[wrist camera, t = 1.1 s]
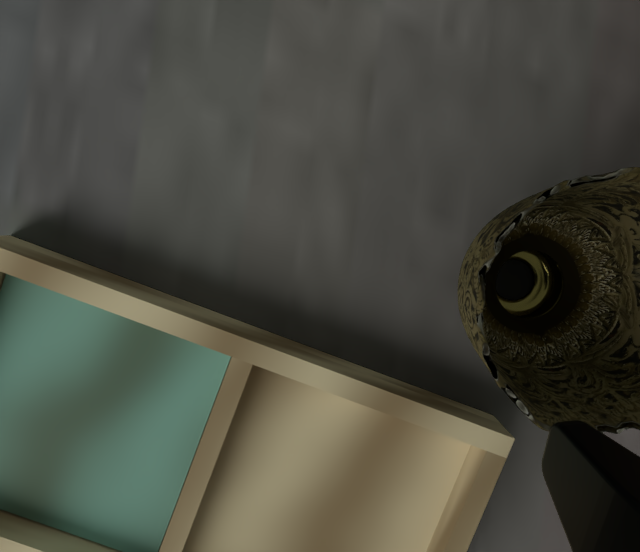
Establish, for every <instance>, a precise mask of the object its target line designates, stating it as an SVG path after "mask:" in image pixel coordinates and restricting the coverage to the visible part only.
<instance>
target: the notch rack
mask: <svg viewBox="0 0 640 552" xmlns="http://www.w3.org/2000/svg"><path fill="white" fill-rule="evenodd" d="M514 440H515V438H514V437H513V436H512V435H511V434H510V433H509V432H508V431H507V430H506V429H505V427H504V426H503V425H502V424H501V423H500V422H499V421H498V420H497V419H496V418H495V417H494V416H493V415H491V414H488V413H486V412H483V411H480V410H478V409H475V408H472V407H469V406H467V405H464V404H461V403H459V402H456V401H453V400H451V399H448V398H445V397H443V396H440V395H437V394H435V393H432V392H429V391H427V390H424V389H421V388H418V387H416V386H413V385H410V384H408V383H405V382H402V381H400V380H397V379H394V378H392V377H389V376H386V375H384V374H381V373H378V372H376V371H373V370H370V369H367V368H365V367H362V366H359V365H357V364H354V363H351V362H349V361H346V360H343V359H341V358H338V357H335V356H333V355H330V354H327V353H325V352H322V351H319V350H316V349H314V348H311V347H308V346H306V345H303V344H300V343H298V342H295V341H292V340H290V339H287V338H284V337H282V336H279V335H276V334H274V333H271V332H268V331H265V330H263V329H260V328H257V327H255V326H252V325H249V324H247V323H244V322H241V321H239V320H236V319H233V318H231V317H228V316H225V315H223V314H220V313H217V312H214V311H212V310H209V309H206V308H204V307H201V306H198V305H196V304H193V303H190V302H188V301H185V300H182V299H180V298H177V297H174V296H172V295H169V294H166V293H163V292H161V291H158V290H155V289H153V288H150V287H147V286H145V285H142V284H139V283H137V282H134V281H131V280H129V279H126V278H123V277H121V276H118V275H115V274H112V273H110V272H107V271H104V270H102V269H99V268H96V267H94V266H91V265H88V264H86V263H83V262H80V261H78V260H75V259H72V258H70V257H67V256H64V255H61V254H59V253H56V252H53V251H51V250H48V249H45V248H43V247H40V246H37V245H35V244H32V243H29V242H27V241H24V240H21V239H19V238H16V237H13V236H10V235H6V236H0V552H467V550H468V548H469V545H470V543H471V541H472V538H473V536H474V534H475V531H476V529H477V526H478V524H479V522H480V519H481V517H482V515H483V512H484V510H485V508H486V505H487V503H488V501H489V498H490V496H491V494H492V491H493V489H494V487H495V484H496V482H497V480H498V477H499V475H500V473H501V470H502V468H503V466H504V463H505V461H506V459H507V456H508V454H509V452H510V449H511V447H512V445H513V442H514Z"/></svg>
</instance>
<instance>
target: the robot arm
mask: <svg viewBox="0 0 640 552" xmlns="http://www.w3.org/2000/svg"><path fill="white" fill-rule="evenodd" d="M542 472H543V476H544V479H545V481H546V484H547V487H548V489H549V492H550V494H551V497H552V499H553V502H554V505H555V507H556V510H557V512H558V515H559V518H560V520H561V523H562V525H563V528H564V530H565V533H566V536H567V538H568V541H569V543H570V546H571V549H572V551H573V552H640V457H639V456H637V455H636V454H634V453H633V452H631V451H629V450H628V449H626V448H625V447H623V446H622V445H620V444H618V443H617V442H615V441H614V440H612V439H611V438H609V437H608V436H606V435H604V434H603V433H601V432H600V431H598V430H597V429H595V428H593V427H592V426H590V425H589V424H587V423H585V422H583V421H580V420H573V421H563V422H556V423H554V424H553V425H552V426H551V428H550V431H549V435H548V439H547V443H546V447H545V451H544V455H543V458H542Z"/></svg>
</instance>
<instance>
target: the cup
mask: <svg viewBox="0 0 640 552" xmlns="http://www.w3.org/2000/svg"><path fill="white" fill-rule="evenodd" d="M509 260H520V261H522V262H524V263H526V264H527V265H528V266H529V267H530V268H531V270H532V272H533V275H534V284H533V287H532V289H531V291H530V292H529V293H528V294H527V295H526V296H525V297H523V298H521V299H518V300H508V299H505V298H503V297H502V296H500V295H499V294H498V292H497V291H496V278H497V274H498V272H499V270H500V268H501V266H502V265H503V264H504V263H505V262H507V261H509ZM458 305H459V311H460V315H461V319H462V322H463V325H464V328H465V330H466V333H467V335H468V337H469V339H470V341H471V343H472V345H473V346H474V348H475V350H476V352H477V353H478V355H479V356H480V358H481V359H482V361H483V362H484V364H485V365H486V366H487V368H488V369H489V371H490V372H491V374H492V375H493V377H494V379H495V381H496V383H497V385H498V386H499V388H501V389H503V390H504V391H505V393H506V394H507V395H508V396H509V397H510V399H511V400H512V401H513V402H514V403H515V405H516V406H517V407H518V408H519V409H520V410H521V411H522V412H523V413H524V414H525V415H526V416H527V417H528V418H529V419H530V420H531V421H532V422H533V423H534V424H535V425H537V426H538V427H539V428H541V429H543V430H546V431H550V428H551V426H552V425H553V424H554V423H556V422H563V421H573V420H580V421H583V422H585V423H587V424H589V425H590V426H592V427H593V428H595V429H597V430H598V431H600V432H601V433H603V432H610V433H614V434H618V433H619V434H620V433H621V432H622V431H623V430H624V429H629V428H636V429H639V430H640V168H639V167H631V168H623V169H619V170H617V171H614V172H610V173H607V174H603V175H594V176H588V175H587V176H583V177H579V178H577V179H574V180H571V181H570V180H566V181H563V182H561V183H559V184H558V185H556V186H554V187H552V188H549V189H547V190H544V191H542V192H540V193H537V194H535V195H532V196H530V197H528V198H526V199H523V200H521V201H520V202H518V203H516V204H514V205H512V206H510V207H509V208H507V209H506V210H504V211H503V212H501V213H500V214H499V215H497V216H496V217H494V218H493V219H492V220H491V221H490V222H489V223H488V224H487V225H486V226H485V227H484V228H483V229H482V230H481V231H480V232H479V234H478V235H477V236H476V238H475V239H474V241H473V242H472V244H471V246H470V247H469V249H468V251H467V253H466V255H465V258H464V260H463V263H462V266H461V269H460V274H459V280H458Z"/></svg>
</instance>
